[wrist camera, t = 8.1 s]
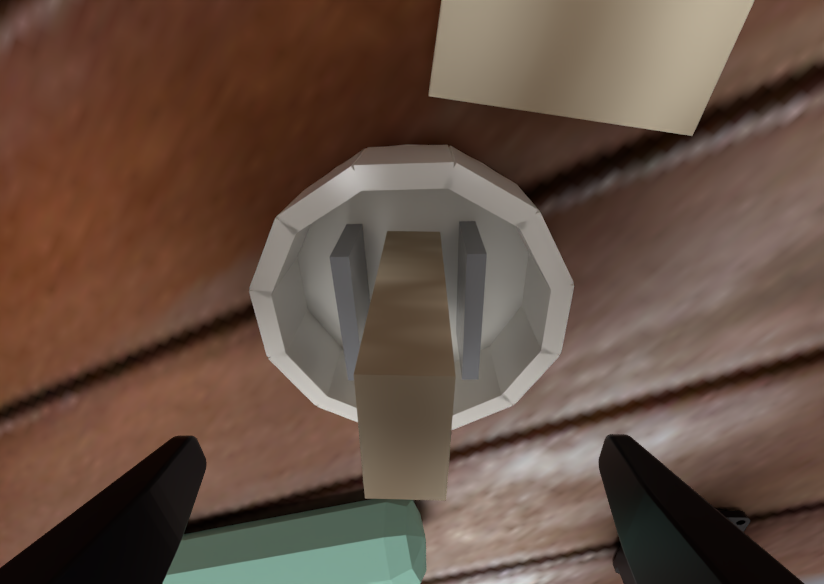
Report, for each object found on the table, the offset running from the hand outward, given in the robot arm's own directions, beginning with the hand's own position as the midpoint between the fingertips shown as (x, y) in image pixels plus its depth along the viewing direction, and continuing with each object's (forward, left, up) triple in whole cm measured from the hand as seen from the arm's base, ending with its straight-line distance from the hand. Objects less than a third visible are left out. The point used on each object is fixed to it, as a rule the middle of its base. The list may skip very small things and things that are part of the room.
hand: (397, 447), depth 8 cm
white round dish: (0, 0, -8) cm, 8 cm away
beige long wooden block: (0, 0, -8) cm, 8 cm away
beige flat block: (-5, -8, -9) cm, 13 cm away
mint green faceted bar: (+12, +19, -9) cm, 24 cm away
